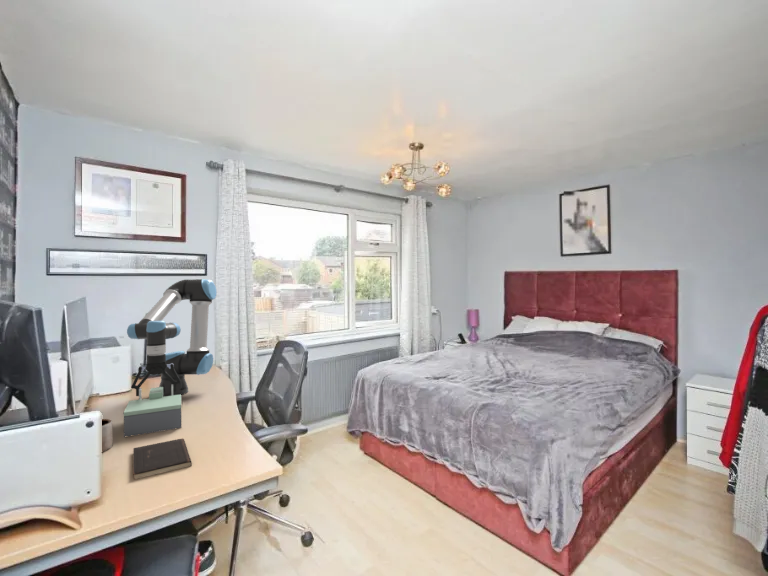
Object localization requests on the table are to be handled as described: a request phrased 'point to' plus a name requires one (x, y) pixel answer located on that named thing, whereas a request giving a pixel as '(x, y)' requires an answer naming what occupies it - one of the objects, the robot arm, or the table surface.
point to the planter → (106, 434)
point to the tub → (152, 422)
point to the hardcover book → (160, 458)
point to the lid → (153, 403)
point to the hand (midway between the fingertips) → (156, 400)
